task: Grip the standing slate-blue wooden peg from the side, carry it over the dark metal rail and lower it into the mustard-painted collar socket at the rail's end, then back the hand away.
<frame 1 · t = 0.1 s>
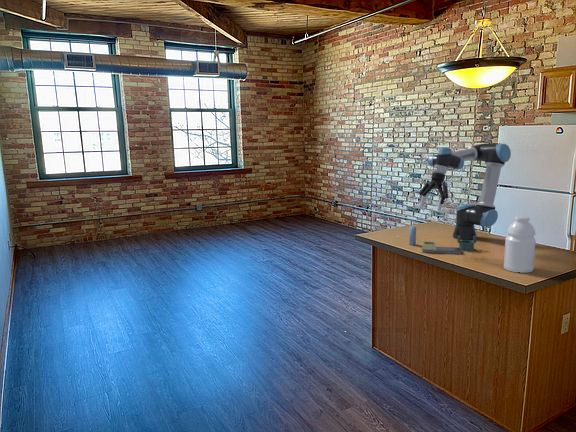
hand: (430, 208, 250), 28 cm above the table, tool tilted 20°, fingers open, 13 cm apart
bottle: (518, 269, 221), on the table
rail: (441, 251, 257), on the table
peg: (412, 244, 275), on the table
bracket: (466, 249, 260), on the table
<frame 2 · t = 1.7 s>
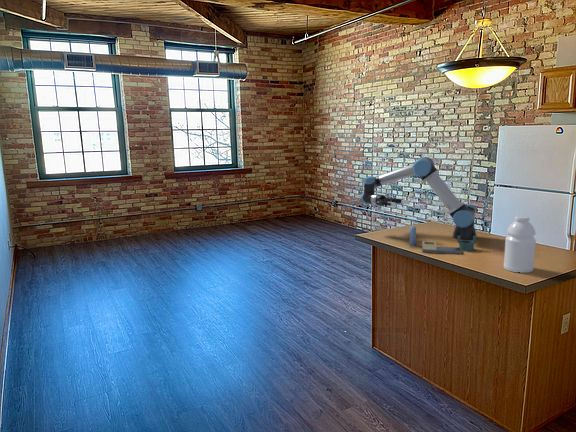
hand: (402, 203, 277), 26 cm above the table, tool horizontal, fingers open, 13 cm apart
nothing on the table moved.
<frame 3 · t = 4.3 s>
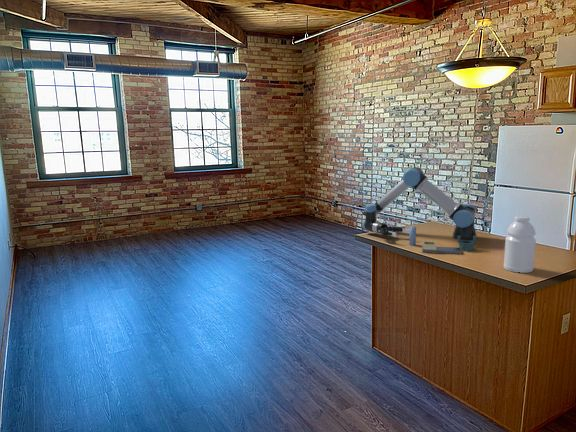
hand: (403, 233, 280), 6 cm above the table, tool horizontal, fingers open, 13 cm apart
nothing on the table moved.
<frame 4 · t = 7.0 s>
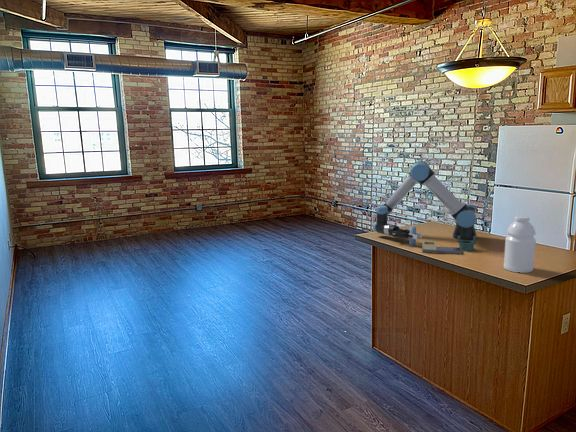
hand: (419, 236, 269), 7 cm above the table, tool horizontal, fingers closed on peg, 4 cm apart
peg: (412, 244, 275), on the table, touching gripper
everything else where it was.
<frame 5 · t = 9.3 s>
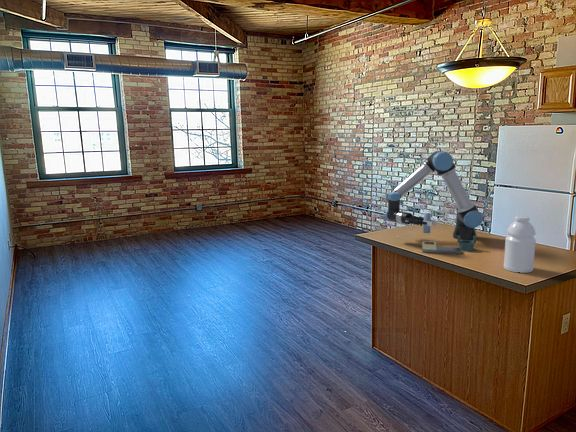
hand: (434, 223, 253), 18 cm above the table, tool horizontal, fingers closed on peg, 4 cm apart
peg: (426, 232, 259), point 11 cm above the table, touching gripper
everything else where it was.
when the fingers open (10 cm above the table, at t = 11.6 s): peg drops 1 cm, resting on rail.
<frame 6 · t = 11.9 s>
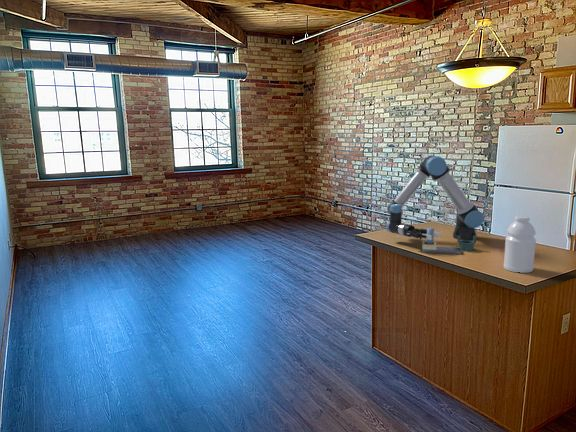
hand: (436, 236, 254), 10 cm above the table, tool horizontal, fingers open, 8 cm apart
peg: (429, 247, 259), point 2 cm above the table, touching rail
everything else where it was.
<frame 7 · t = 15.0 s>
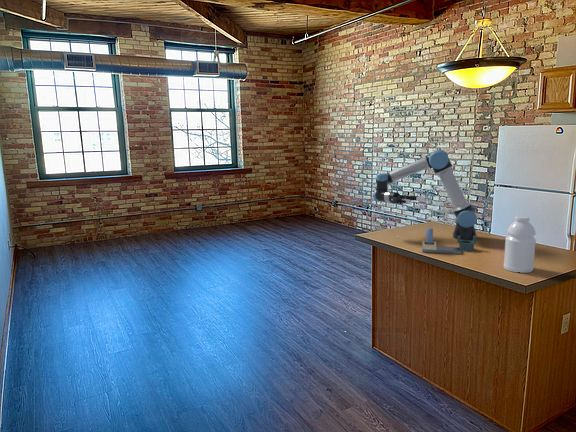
hand: (417, 200, 265), 30 cm above the table, tool horizontal, fingers open, 13 cm apart
nothing on the table moved.
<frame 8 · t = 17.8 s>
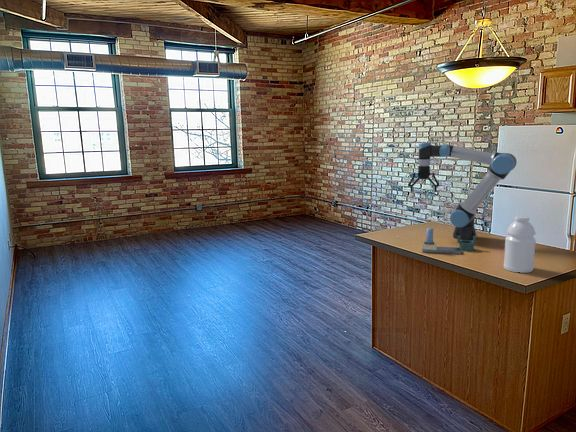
hand: (423, 196, 288), 29 cm above the table, tool pointing down, fingers open, 13 cm apart
nothing on the table moved.
at the end: peg 0.0 cm from the target spot on the rail, point 2.0 cm above the rail's base; peg tilted 0°; the gripper is holding nothing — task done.
